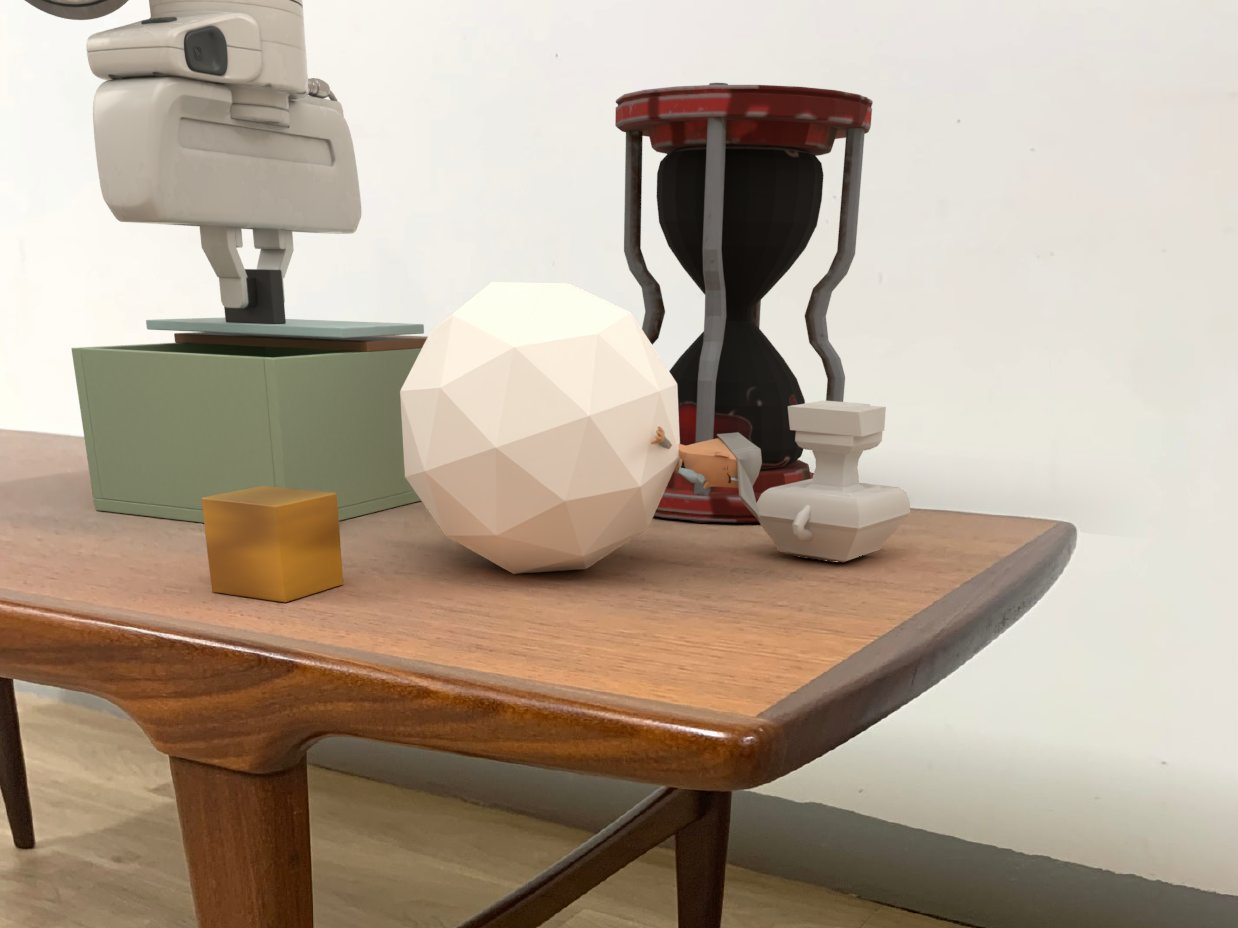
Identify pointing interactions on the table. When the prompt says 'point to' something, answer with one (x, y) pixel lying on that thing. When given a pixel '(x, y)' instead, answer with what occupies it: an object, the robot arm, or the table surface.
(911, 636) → the table surface
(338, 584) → the block
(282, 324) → the blue-grey flat panel
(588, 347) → the person on sphere
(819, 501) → the beige squat bottle
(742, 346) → the hourglass
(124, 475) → the case
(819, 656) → the table surface
